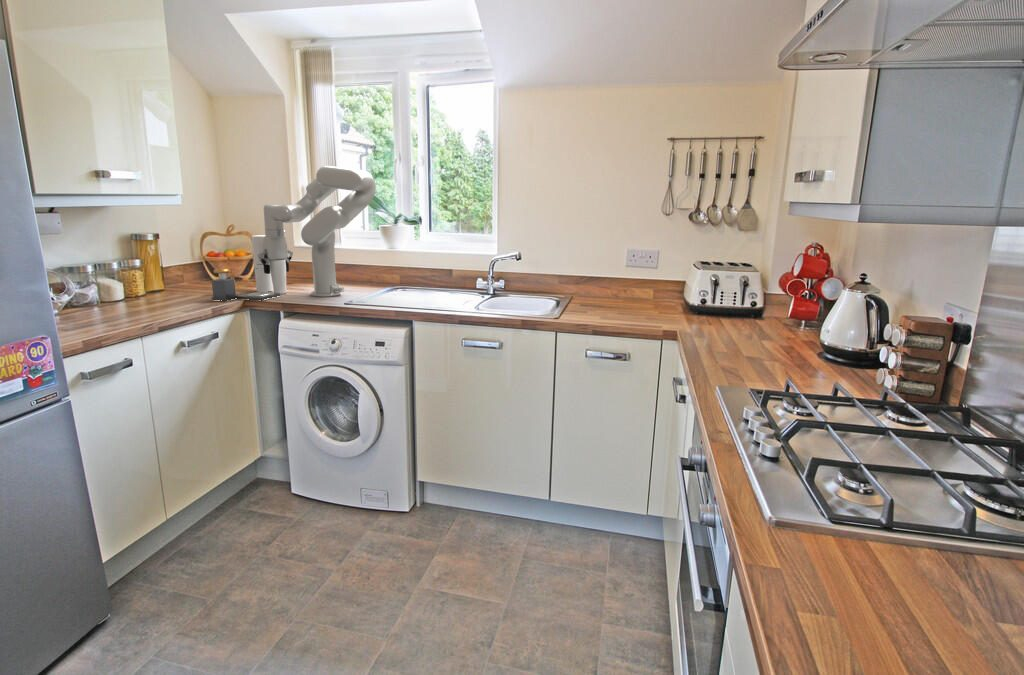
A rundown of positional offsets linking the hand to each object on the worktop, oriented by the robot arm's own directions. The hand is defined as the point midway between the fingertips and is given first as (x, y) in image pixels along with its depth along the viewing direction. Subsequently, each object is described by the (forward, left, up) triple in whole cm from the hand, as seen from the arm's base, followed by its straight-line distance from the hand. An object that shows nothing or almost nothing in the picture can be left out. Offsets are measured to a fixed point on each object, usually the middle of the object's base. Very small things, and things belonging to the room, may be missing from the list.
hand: (276, 272), depth 254 cm
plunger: (+11, +21, -5) cm, 24 cm away
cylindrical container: (+9, -3, -10) cm, 14 cm away
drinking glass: (-1, 0, -10) cm, 10 cm away
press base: (+4, +16, -9) cm, 19 cm away
